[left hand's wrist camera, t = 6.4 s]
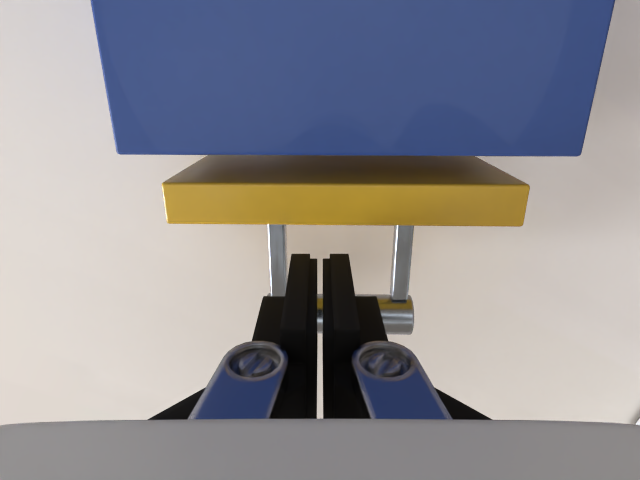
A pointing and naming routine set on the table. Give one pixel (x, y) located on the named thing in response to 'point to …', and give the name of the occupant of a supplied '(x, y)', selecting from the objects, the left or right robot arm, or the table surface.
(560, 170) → the table surface
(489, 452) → the left robot arm
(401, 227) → the drawer
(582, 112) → the blue box
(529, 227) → the table surface
